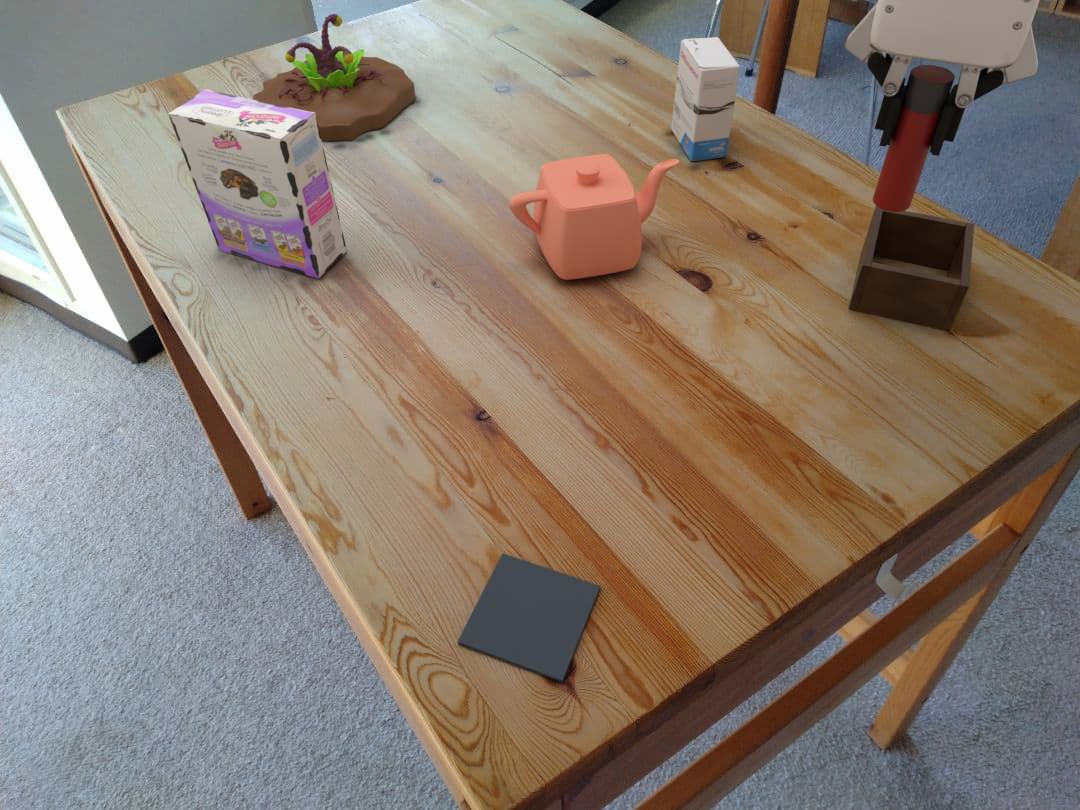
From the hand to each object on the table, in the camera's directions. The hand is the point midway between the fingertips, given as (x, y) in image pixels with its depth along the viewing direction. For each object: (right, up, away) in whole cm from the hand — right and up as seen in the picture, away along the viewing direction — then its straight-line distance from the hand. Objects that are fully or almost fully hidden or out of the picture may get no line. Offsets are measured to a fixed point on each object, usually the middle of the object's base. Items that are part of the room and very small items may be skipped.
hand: (911, 140), depth 67 cm
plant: (-57, +21, +50) cm, 79 cm away
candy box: (-58, -4, +27) cm, 64 cm away
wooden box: (+8, -9, +20) cm, 24 cm away
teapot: (-23, -4, +26) cm, 35 cm away
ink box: (-9, +12, +41) cm, 44 cm away
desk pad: (-30, -36, -5) cm, 47 cm away
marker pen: (0, -4, +4) cm, 6 cm away
